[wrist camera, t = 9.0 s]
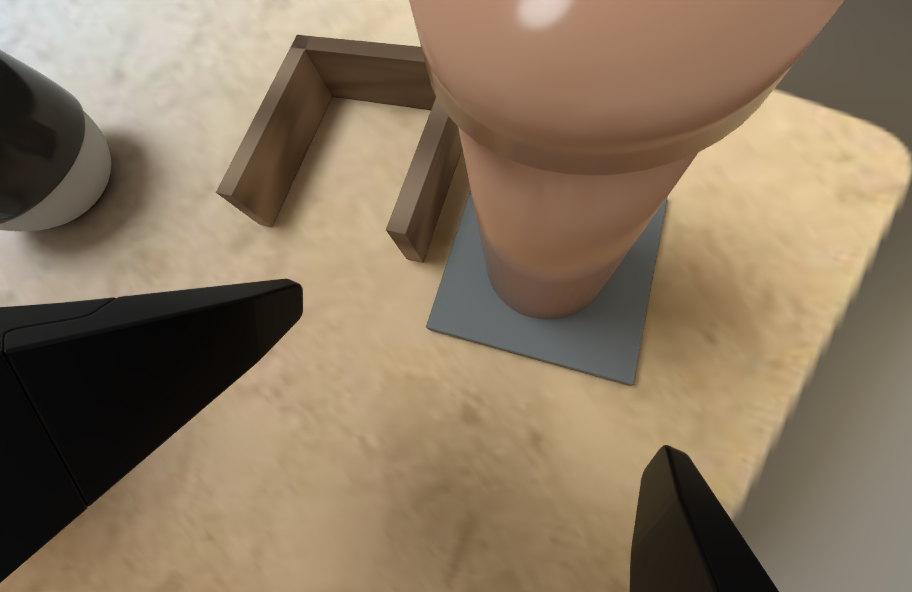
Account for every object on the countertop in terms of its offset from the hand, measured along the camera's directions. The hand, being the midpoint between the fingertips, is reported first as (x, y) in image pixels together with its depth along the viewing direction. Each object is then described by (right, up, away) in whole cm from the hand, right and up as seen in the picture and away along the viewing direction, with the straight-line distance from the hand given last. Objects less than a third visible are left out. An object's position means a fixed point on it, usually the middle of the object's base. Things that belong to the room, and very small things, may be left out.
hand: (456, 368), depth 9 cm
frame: (-5, +10, +15) cm, 19 cm away
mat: (+5, +3, +11) cm, 13 cm away
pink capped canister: (+5, +3, +10) cm, 12 cm away
